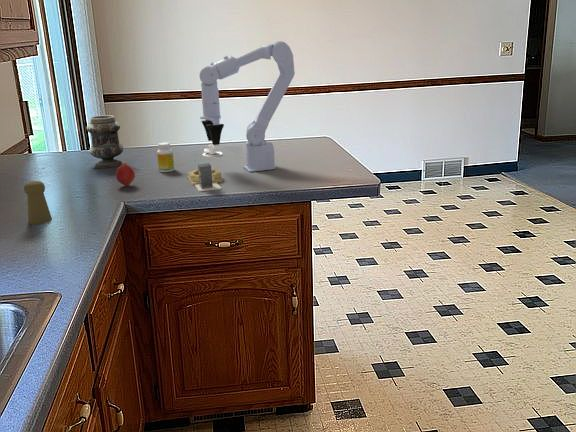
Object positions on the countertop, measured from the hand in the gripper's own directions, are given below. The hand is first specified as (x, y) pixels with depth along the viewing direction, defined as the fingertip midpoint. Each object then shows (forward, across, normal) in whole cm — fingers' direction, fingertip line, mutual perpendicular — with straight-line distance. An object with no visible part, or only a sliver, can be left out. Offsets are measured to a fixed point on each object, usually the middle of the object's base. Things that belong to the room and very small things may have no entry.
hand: (213, 142), depth 206 cm
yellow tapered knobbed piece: (+10, +33, -56) cm, 66 cm away
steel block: (+10, +20, -8) cm, 24 cm away
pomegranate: (+10, +7, -31) cm, 33 cm away
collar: (+10, +11, -6) cm, 16 cm away
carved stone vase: (+10, -27, -35) cm, 45 cm away
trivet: (+10, +20, -7) cm, 24 cm away
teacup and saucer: (+11, -28, +7) cm, 31 cm away
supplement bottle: (+10, -8, -16) cm, 21 cm away
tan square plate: (+10, +11, -6) cm, 16 cm away
